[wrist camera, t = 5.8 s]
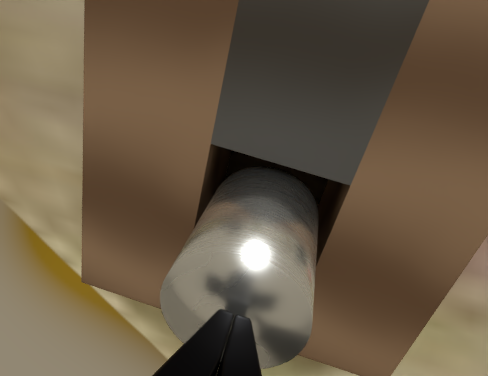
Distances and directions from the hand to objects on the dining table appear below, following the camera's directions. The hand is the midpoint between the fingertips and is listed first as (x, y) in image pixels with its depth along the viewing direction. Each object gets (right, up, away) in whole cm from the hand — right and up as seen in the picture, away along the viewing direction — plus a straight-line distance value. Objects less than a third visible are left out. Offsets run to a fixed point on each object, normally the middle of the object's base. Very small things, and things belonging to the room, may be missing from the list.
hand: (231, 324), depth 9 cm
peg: (+1, +2, +5) cm, 5 cm away
